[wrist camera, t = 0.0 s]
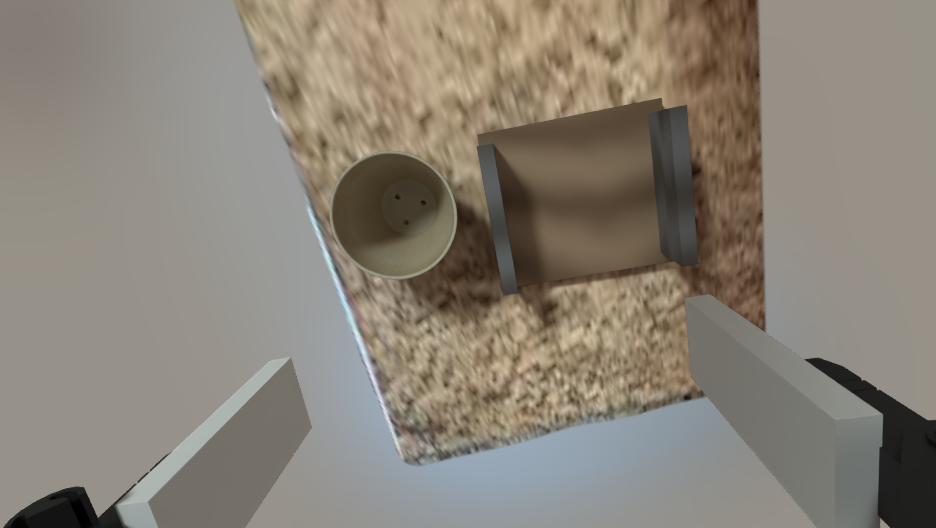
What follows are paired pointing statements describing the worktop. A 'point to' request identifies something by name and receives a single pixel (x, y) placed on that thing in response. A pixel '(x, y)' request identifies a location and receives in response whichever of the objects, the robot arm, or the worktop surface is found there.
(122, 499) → the robot arm
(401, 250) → the flower pot
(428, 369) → the worktop surface
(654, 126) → the cradle
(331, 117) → the worktop surface
